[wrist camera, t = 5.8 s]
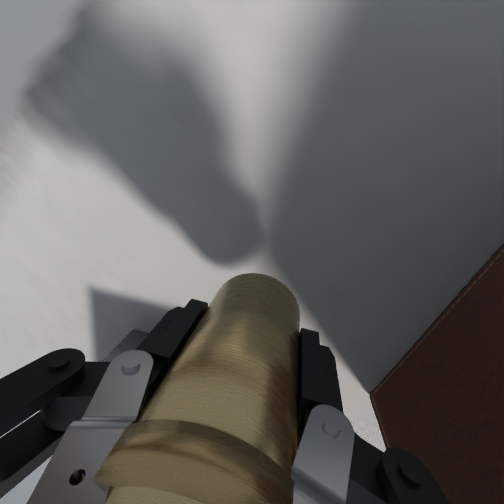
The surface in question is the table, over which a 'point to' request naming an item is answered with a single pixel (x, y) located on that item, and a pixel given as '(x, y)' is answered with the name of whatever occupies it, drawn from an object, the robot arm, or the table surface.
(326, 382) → the robot arm
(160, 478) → the fitting
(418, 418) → the letter holder
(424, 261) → the table surface
